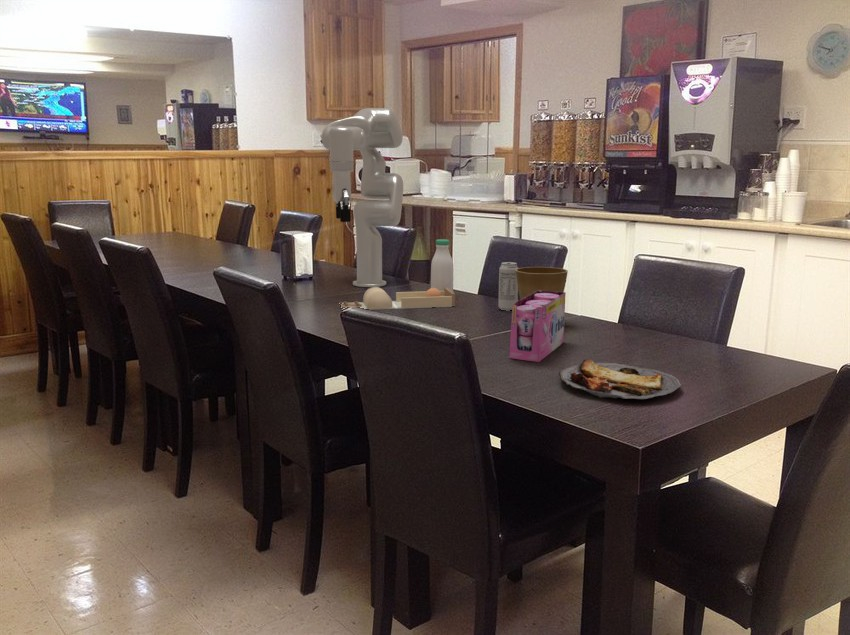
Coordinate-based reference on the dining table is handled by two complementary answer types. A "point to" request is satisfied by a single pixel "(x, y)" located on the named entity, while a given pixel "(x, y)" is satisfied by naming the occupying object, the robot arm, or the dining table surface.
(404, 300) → the lane
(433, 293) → the ball
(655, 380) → the food plate
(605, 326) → the dining table surface
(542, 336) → the gum box
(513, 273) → the energy drink can
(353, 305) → the tee
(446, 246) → the milk bottle
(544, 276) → the plant pot
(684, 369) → the dining table surface
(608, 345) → the dining table surface
